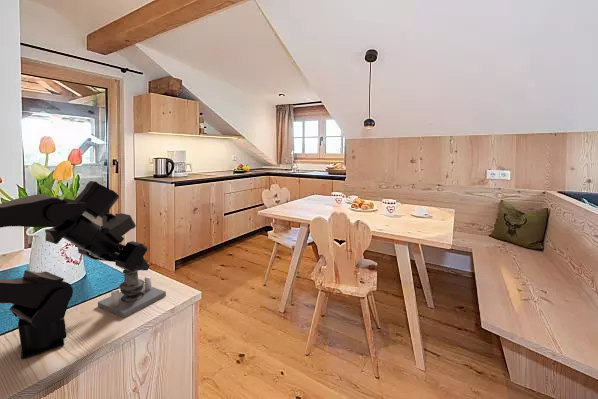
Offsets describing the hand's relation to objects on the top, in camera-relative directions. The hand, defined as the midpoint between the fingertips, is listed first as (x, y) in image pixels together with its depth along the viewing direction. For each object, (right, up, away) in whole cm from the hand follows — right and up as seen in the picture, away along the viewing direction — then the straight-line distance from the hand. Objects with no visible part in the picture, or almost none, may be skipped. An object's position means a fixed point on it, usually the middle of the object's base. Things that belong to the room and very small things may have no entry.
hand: (136, 264), depth 78 cm
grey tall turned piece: (-1, -9, 0) cm, 9 cm away
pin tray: (-1, -10, +1) cm, 10 cm away
